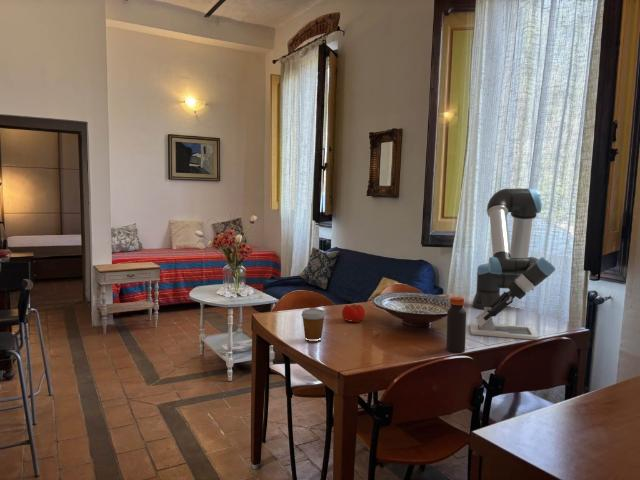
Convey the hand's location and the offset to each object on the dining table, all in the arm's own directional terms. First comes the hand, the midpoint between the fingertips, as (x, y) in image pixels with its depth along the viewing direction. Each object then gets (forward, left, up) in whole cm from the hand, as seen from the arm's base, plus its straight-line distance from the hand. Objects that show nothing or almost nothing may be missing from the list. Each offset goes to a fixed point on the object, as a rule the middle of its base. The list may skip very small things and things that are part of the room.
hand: (478, 321), depth 201 cm
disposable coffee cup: (+36, -64, -4) cm, 74 cm away
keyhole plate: (0, +10, -4) cm, 11 cm away
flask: (0, +4, -4) cm, 5 cm away
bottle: (+31, -9, -4) cm, 33 cm away
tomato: (+1, -55, -4) cm, 55 cm away
